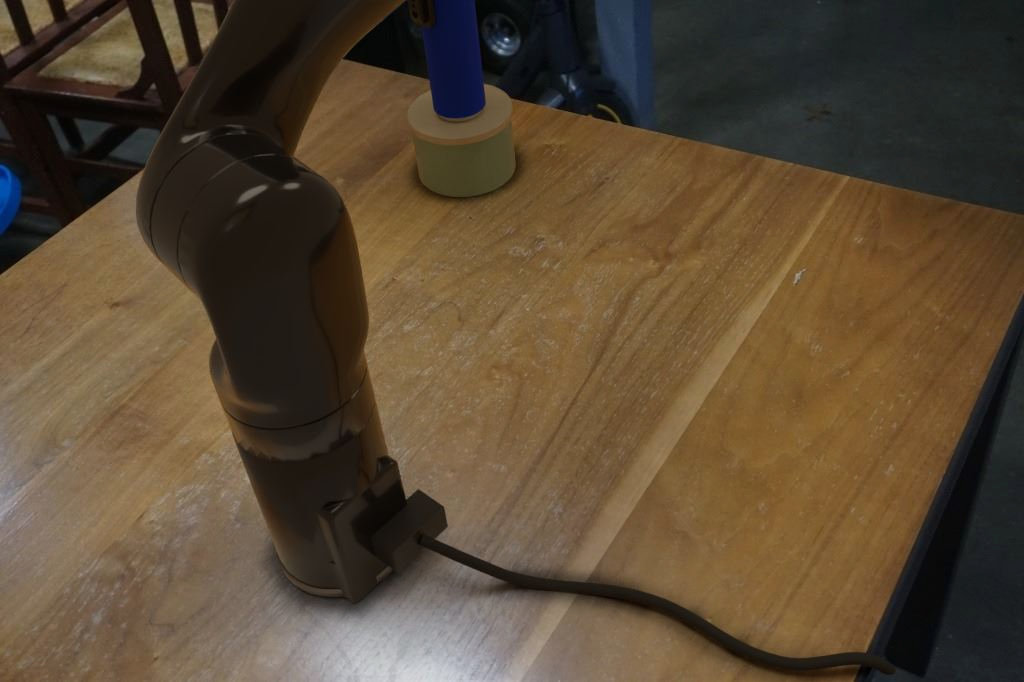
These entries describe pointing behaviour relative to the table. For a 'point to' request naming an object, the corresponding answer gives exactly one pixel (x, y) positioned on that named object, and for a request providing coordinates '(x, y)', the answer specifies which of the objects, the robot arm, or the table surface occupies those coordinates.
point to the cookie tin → (464, 146)
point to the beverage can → (455, 61)
